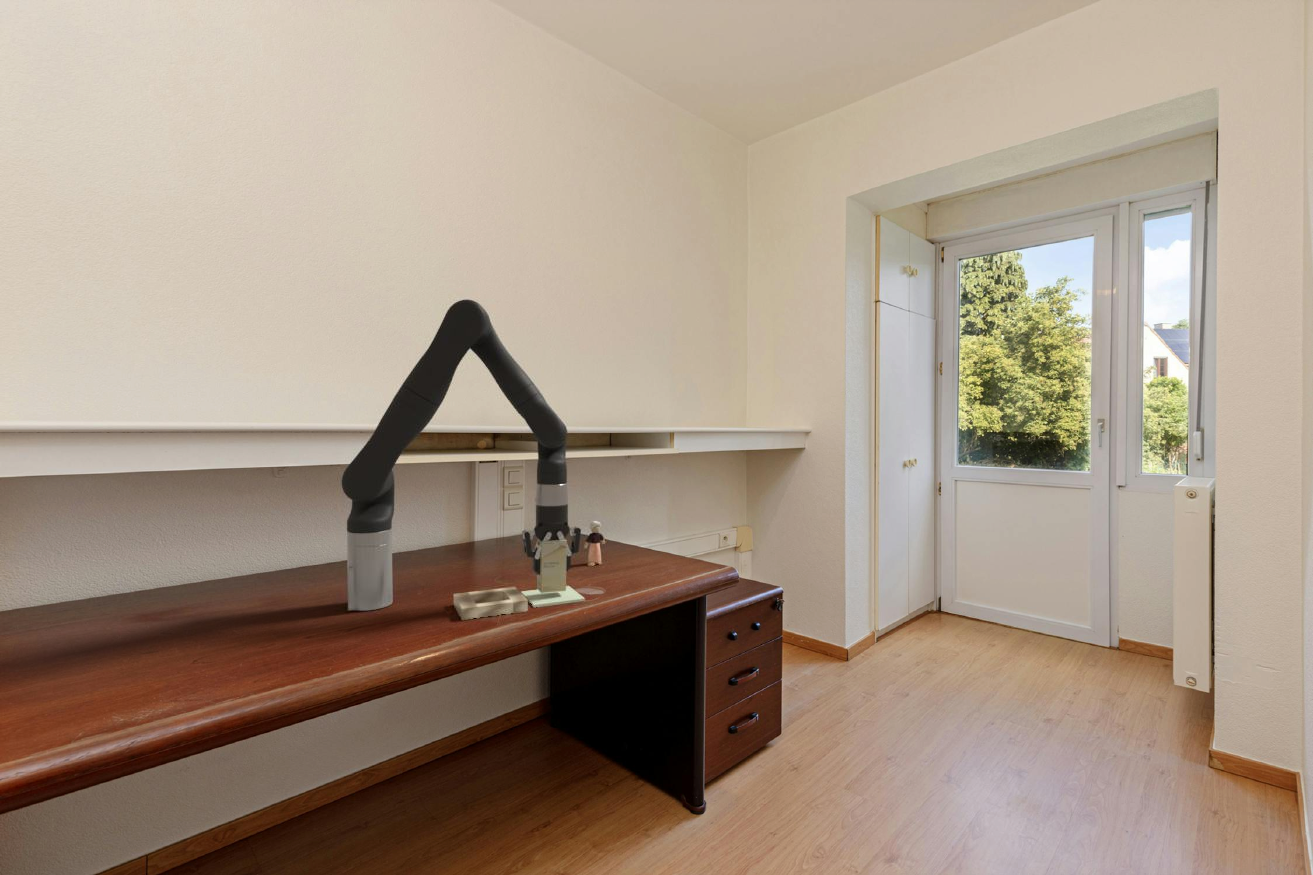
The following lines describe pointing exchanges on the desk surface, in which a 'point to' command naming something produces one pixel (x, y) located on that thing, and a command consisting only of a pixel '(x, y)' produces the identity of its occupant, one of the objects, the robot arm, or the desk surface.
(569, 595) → the pad
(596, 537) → the grandmother figurine
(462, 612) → the pocket holder
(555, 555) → the skincare box
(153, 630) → the desk surface
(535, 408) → the robot arm
